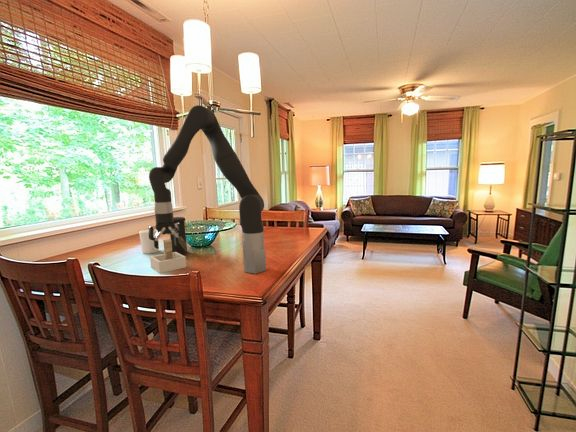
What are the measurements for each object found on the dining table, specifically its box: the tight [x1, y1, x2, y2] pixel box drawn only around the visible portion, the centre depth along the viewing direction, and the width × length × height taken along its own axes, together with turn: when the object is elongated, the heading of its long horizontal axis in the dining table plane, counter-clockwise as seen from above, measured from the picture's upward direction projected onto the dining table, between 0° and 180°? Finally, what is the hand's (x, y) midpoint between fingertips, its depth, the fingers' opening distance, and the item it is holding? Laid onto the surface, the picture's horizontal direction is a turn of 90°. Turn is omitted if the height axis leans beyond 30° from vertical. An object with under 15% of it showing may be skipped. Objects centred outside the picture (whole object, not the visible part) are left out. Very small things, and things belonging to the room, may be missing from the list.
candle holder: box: [138, 228, 160, 254], centre depth 167 cm, size 10×10×12 cm
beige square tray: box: [149, 252, 187, 274], centre depth 139 cm, size 12×12×5 cm
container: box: [169, 216, 188, 256], centre depth 161 cm, size 9×9×20 cm
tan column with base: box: [163, 238, 173, 260], centre depth 138 cm, size 6×6×12 cm
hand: (166, 246), depth 138 cm, fingers open, 8 cm apart
